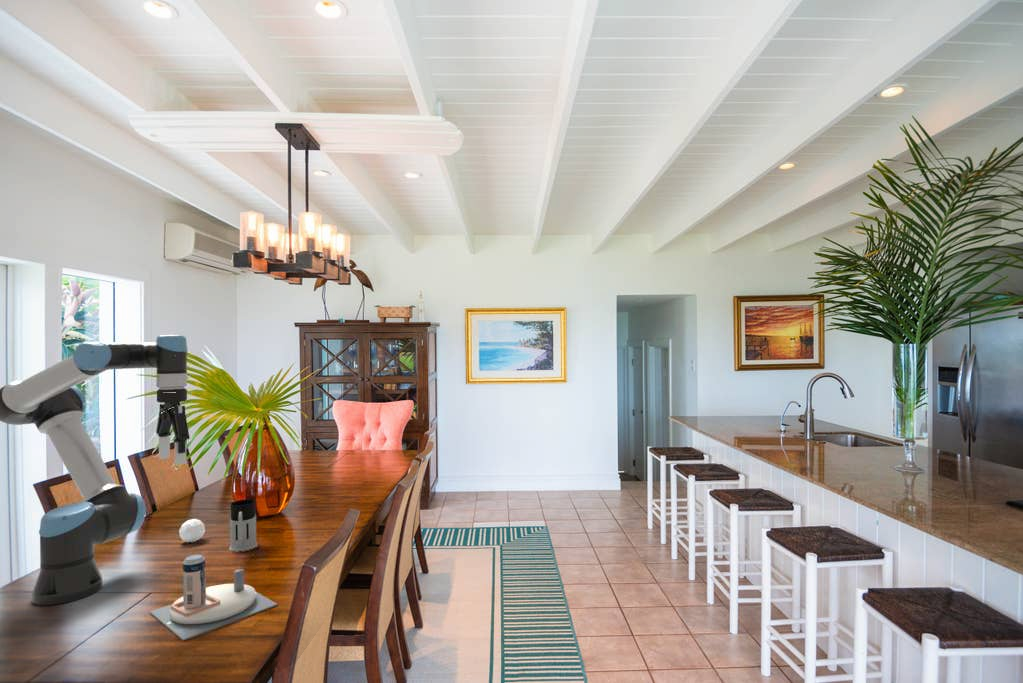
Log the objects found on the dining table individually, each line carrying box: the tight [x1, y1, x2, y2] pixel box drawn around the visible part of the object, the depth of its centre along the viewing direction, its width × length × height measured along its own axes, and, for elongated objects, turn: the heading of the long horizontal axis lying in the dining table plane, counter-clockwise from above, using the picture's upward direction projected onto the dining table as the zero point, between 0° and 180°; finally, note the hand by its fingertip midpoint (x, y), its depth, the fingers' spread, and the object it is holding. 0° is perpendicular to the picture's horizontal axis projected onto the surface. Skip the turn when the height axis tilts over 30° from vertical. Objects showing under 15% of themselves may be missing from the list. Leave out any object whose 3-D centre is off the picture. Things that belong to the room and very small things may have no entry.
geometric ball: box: [178, 518, 206, 543], centre depth 193 cm, size 8×8×8 cm
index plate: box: [149, 591, 278, 642], centre depth 140 cm, size 22×22×1 cm
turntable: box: [170, 568, 256, 624], centre depth 140 cm, size 19×19×7 cm
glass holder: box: [228, 499, 258, 553], centre depth 183 cm, size 9×14×15 cm, turn 20°
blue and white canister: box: [182, 553, 207, 609], centre depth 137 cm, size 5×5×12 cm
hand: (172, 461), depth 160 cm, fingers open, 13 cm apart
